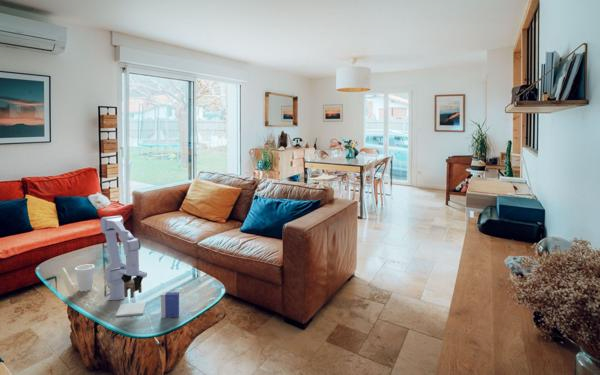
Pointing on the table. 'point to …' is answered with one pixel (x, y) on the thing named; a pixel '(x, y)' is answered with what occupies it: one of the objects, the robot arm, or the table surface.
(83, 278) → the foam cup
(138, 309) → the mat
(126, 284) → the brown forked block
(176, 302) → the walkman
